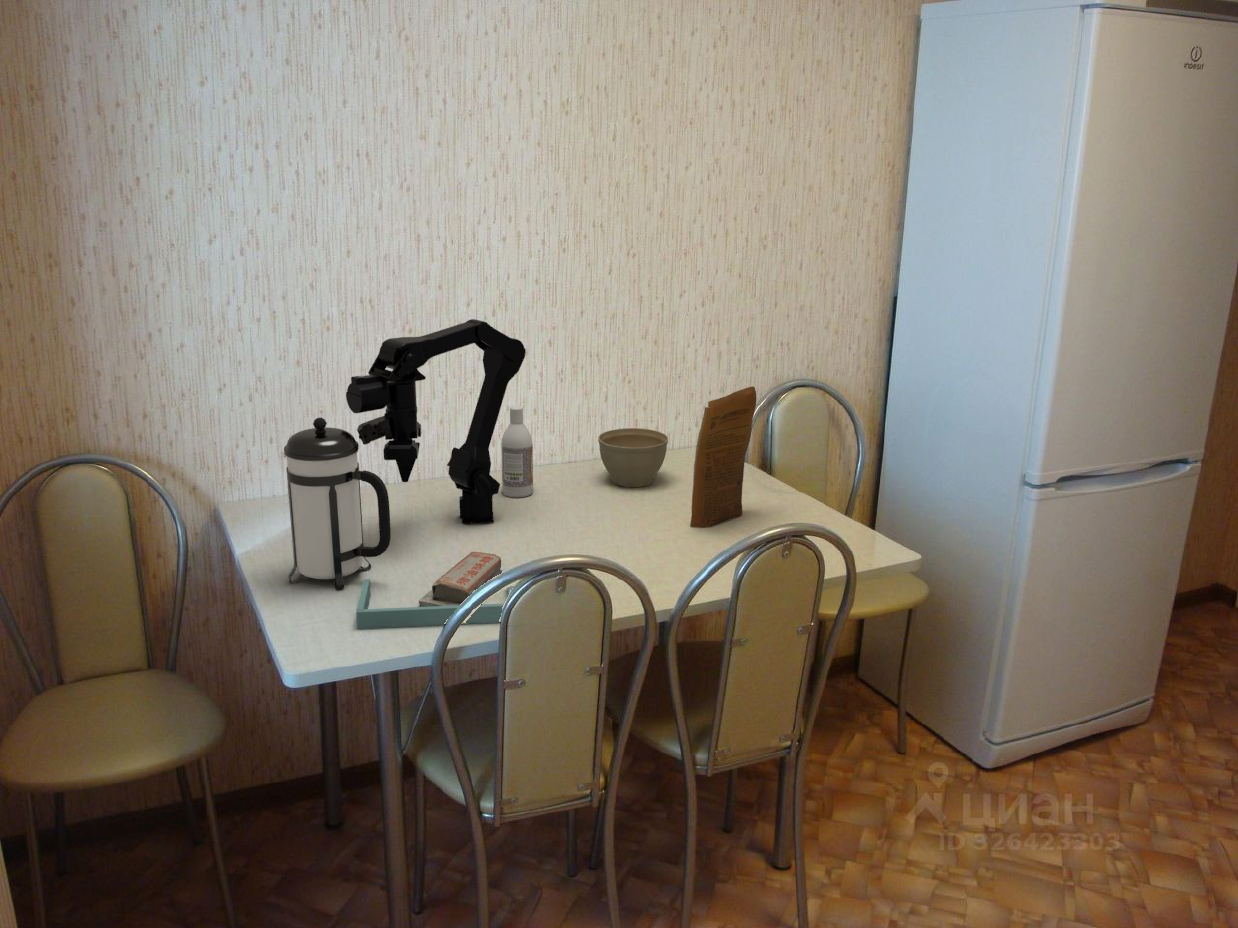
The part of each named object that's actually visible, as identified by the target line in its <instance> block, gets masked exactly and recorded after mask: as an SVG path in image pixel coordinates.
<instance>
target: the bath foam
mask: <svg viewBox="0 0 1238 928" xmlns="http://www.w3.org/2000/svg"><path fill="white" fill-rule="evenodd" d="M500 444H501V445H500V447H501V489H502V490H501V491H502V494H503V495H504V496H506V497H508V498H519V499H520V498H525V497H529V496H530V495H532V494H533V492H534V456H533V455H534V453H533V451H534V450H533V449H534V448H533V447H534V446H533V438H532V435H531V433H530V431H529V429H528V427H526V425H525V423H524V407H523V406H520V405H513V406H511V407H509V424H508V426H507V428H505V431H504V432H503V434H502V437H501V443H500Z"/></svg>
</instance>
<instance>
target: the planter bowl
mask: <svg viewBox="0 0 1238 928" xmlns="http://www.w3.org/2000/svg"><path fill="white" fill-rule="evenodd" d="M597 440H598V444H599V445H598V446H599V454H600V458H601V461H602V464H603V465H604V467H605V469H606V471H607V472H608V474H609V475H610V476H611V480H612V482H613V483H614V484H615V485H618V486H621V487H626V488H640V487H641V488H642V487H646V486H649V485H651V484H652V483H653V482H654V479H655V476H656V475H657V473H659V471H660V470H661V467H662V466H663V463H664V461H665V458H666V454H667V448H668V447H667V446H668V443H669V437H668V435H667V434H665V433H664V432H661V431H658V430H654V429H649V428H643V427H642V428H637V427H626V428H624V427H623V428H615V429H610V430H607V431H604V432H602V433H600V434H599V435H598V436H597Z"/></svg>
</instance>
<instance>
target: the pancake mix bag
mask: <svg viewBox="0 0 1238 928" xmlns="http://www.w3.org/2000/svg"><path fill="white" fill-rule="evenodd" d="M756 406H757V391H756V387H755V386H749V387H745V388H742V389H739V390H737V391H734V392H732V393H730V394H728V395H726V396H722V397H719V398H716V399H712V400H709V401H707V406H706V407H704V411H703V417H702V418H701V419H702V420H701V424H700V428H699V433H698V436H697V440H696V442H697V443H696V448H695V457H694V464H693V479H692V481H693V483H692V493H691V495H692V496H691V517H690V524H689V527H691V528H701V529H702V528H711V527H713V526H716V525H719V524H722V523H724V522H727V521H730V520H732V519H736V518H739V517H742V515H743V514H744V513H743V503H742V502H743V500H742V499H743V482H744V473H745V472H744V470H745V462H746V461H745V460H746V455H747V452H748V448H749V446H750V445H749V444H750V441H751V436H752V426H753V419H754V415H755V410H756Z"/></svg>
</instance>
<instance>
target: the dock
mask: <svg viewBox="0 0 1238 928" xmlns="http://www.w3.org/2000/svg"><path fill="white" fill-rule="evenodd" d="M362 582H363V583H362V587H361V590H360V595H359V599H358V603H357V608H356V612H355V613H356V614H355V615H356V628H357V629H358V630H360V629H361V630H362V629H363V630H364V629H365V630H366V629H382V628H384V629H387V628H406V627H409V628H411V627H429V626H431V627H432V626H433V627H434V626H445V625H444V623H445V622H446V620H447V619H449V617H450V616H451V615H452V614H453V613H454V611H455V610H456V609H457V608H458V607H459V606H460V605H456V606H432V607H421V606H414V607H413V606H411V607H393V608H392V607H387V608H369V604H370V600H371V597H372V595H371V594H372V593H371V580H370V579H369V578H367V579H365V578H364V579H363V581H362ZM512 588H514V589H515V585H514V586H510V587H508V588H507V589H506V591H507V595H508V594H509V592H510V590H512ZM481 604H482V605H481V606H480V607H479V608H478V609H477V610H476V611H475V612H474V613H473V614H472V615H471V617H470V618H469V619H468V620H467V621H466V623H478V625H480V624H495V623H496V624H498V622H499V619H500V617H501V613H502V607H503V605H504V603H485V604H484V603H481Z"/></svg>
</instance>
